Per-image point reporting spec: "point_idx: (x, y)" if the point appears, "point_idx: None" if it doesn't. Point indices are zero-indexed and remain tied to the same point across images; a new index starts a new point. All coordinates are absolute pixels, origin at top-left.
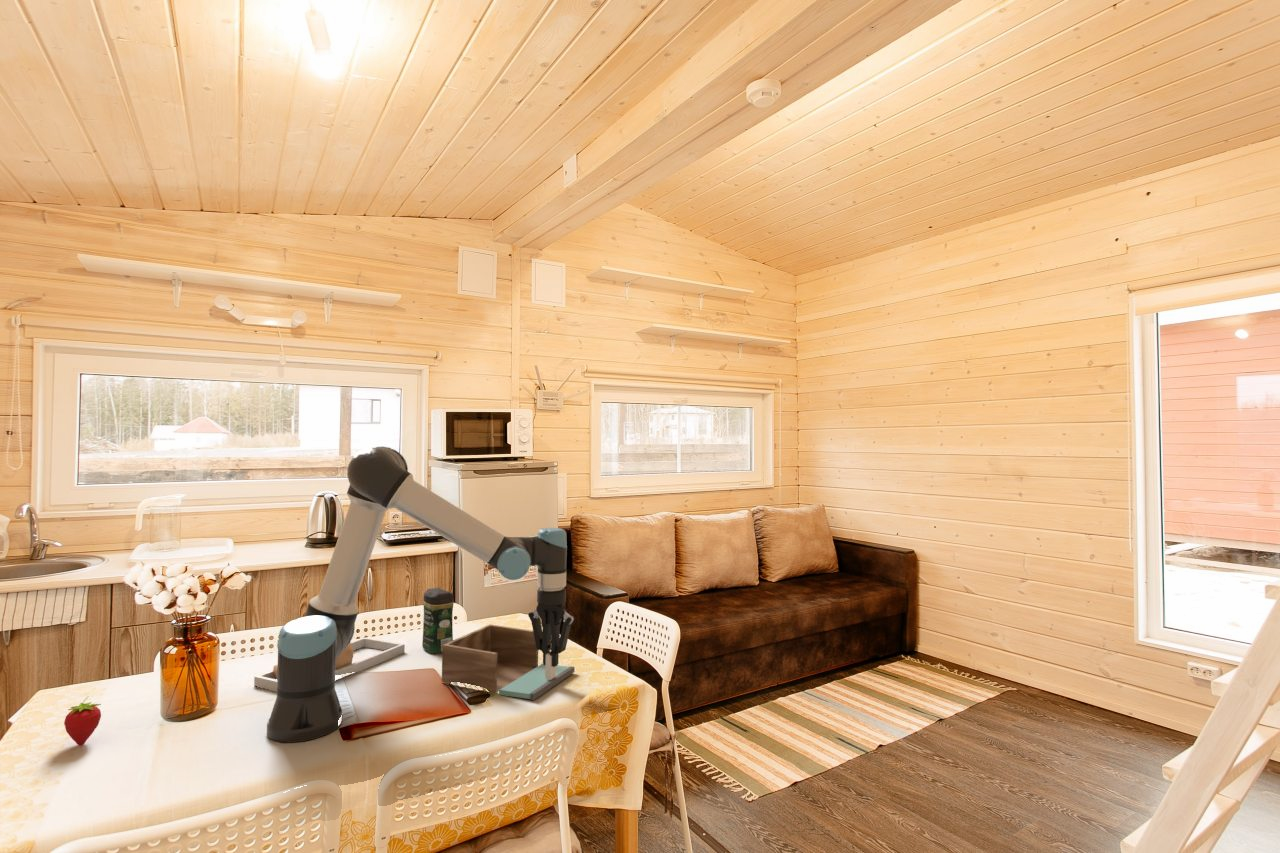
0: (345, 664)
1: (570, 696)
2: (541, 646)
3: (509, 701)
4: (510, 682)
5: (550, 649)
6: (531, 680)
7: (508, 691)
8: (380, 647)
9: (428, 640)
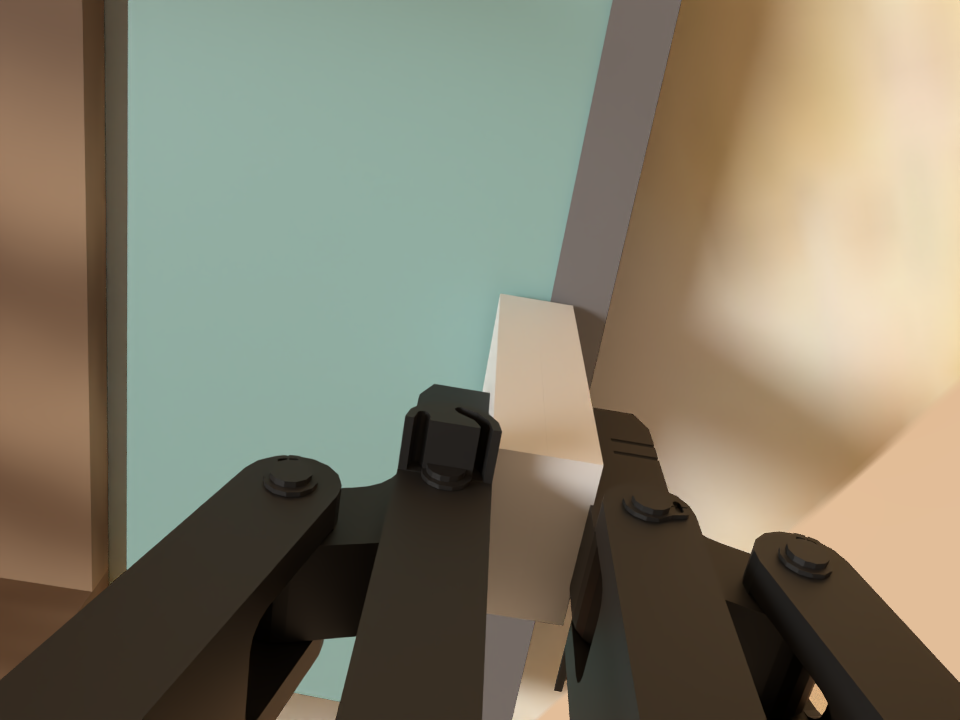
0: None
1: (780, 415)
2: (327, 632)
3: None
4: (63, 346)
5: (488, 484)
6: (313, 408)
7: None
8: None
9: None
